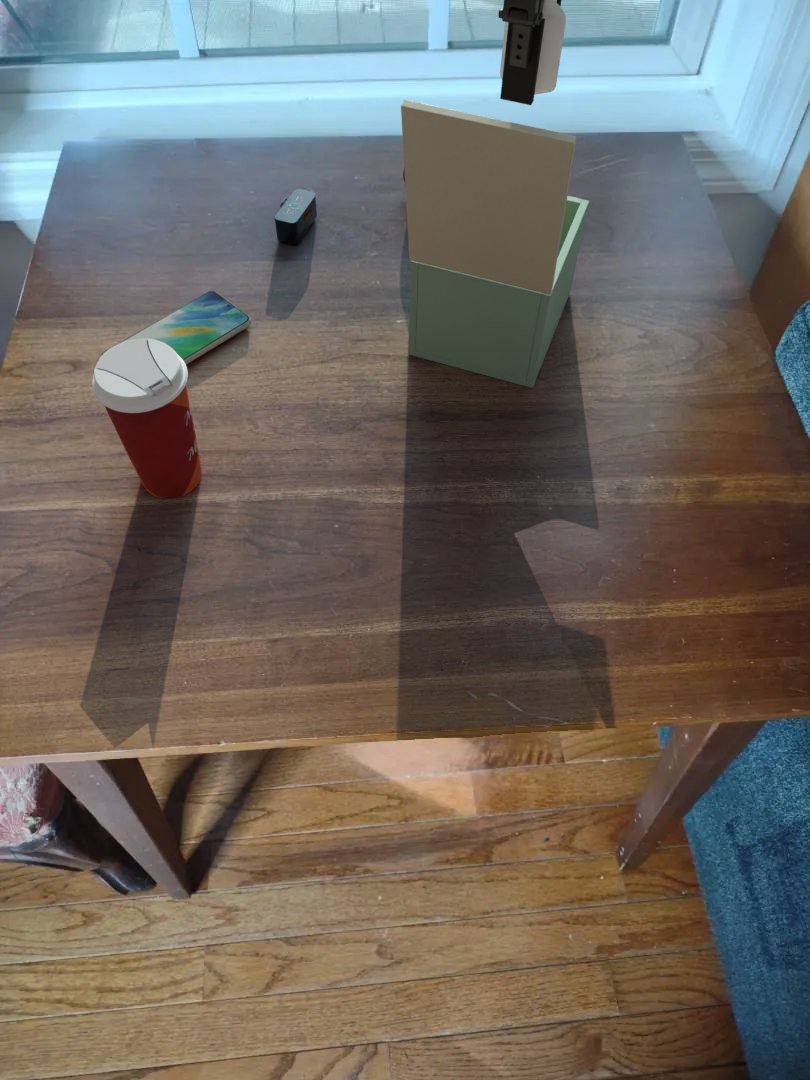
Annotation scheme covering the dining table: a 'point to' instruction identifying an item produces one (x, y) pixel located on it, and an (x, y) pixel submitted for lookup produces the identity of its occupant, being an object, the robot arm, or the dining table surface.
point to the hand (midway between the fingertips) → (526, 82)
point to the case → (492, 313)
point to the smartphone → (196, 326)
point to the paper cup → (151, 413)
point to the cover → (485, 194)
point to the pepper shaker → (546, 47)
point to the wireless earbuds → (295, 216)
